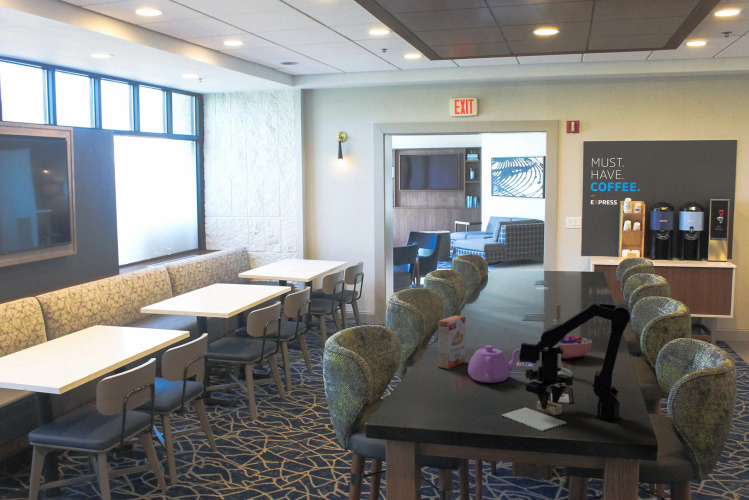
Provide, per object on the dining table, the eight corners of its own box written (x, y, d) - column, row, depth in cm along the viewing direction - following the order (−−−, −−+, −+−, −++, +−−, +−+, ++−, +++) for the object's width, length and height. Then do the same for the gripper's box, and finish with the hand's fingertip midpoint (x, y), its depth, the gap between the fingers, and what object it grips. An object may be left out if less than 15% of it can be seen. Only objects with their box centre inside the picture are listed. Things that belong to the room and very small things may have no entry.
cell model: (596, 362, 302) (597, 337, 301) (551, 363, 302) (551, 338, 301) (585, 352, 319) (586, 328, 318) (542, 353, 319) (542, 329, 318)
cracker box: (449, 369, 295) (449, 321, 292) (437, 367, 298) (437, 320, 296) (465, 362, 306) (466, 316, 303) (454, 360, 309) (454, 314, 307)
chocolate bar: (571, 386, 268) (572, 402, 250) (571, 389, 268) (572, 404, 251) (547, 385, 270) (547, 400, 253) (547, 387, 270) (547, 403, 253)
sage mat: (566, 423, 231) (566, 422, 231) (541, 431, 224) (541, 430, 224) (525, 408, 246) (525, 407, 246) (501, 416, 239) (501, 414, 239)
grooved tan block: (562, 413, 241) (562, 404, 241) (554, 416, 239) (554, 407, 239) (544, 407, 248) (544, 398, 248) (536, 409, 246) (536, 401, 245)
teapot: (522, 389, 268) (522, 354, 266) (466, 386, 272) (466, 352, 271) (521, 372, 289) (522, 340, 288) (469, 370, 294) (469, 338, 292)
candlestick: (537, 376, 284) (538, 304, 280) (545, 368, 295) (546, 299, 291) (568, 380, 278) (570, 307, 274) (575, 372, 289) (577, 301, 285)
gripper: (549, 355, 253) (548, 396, 255) (514, 364, 243) (513, 406, 244) (574, 361, 244) (573, 404, 246) (538, 371, 234) (538, 415, 235)
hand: (549, 407), depth 243 cm, fingers open, 5 cm apart
